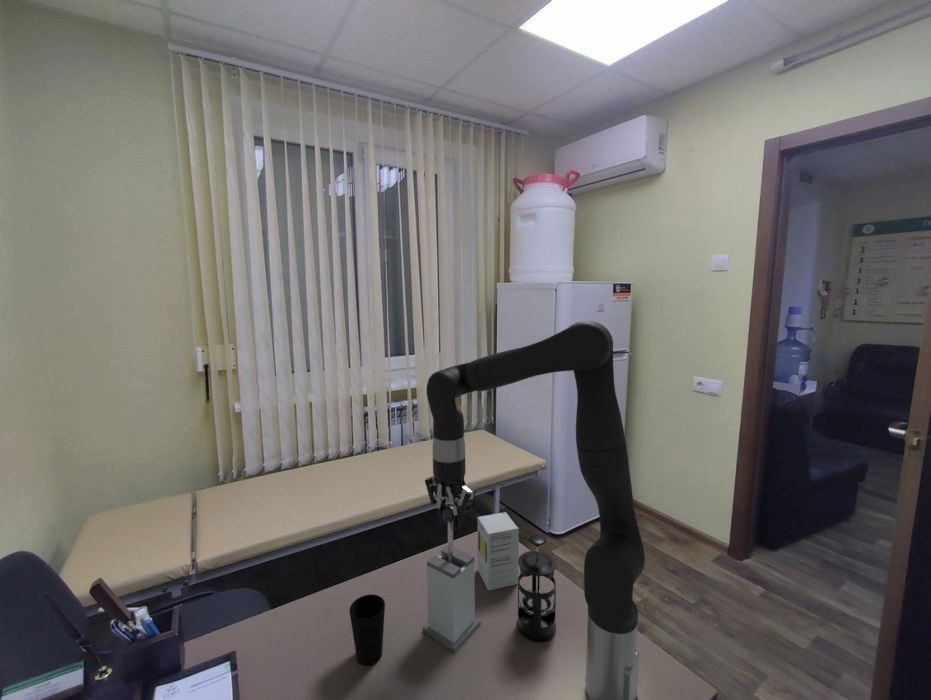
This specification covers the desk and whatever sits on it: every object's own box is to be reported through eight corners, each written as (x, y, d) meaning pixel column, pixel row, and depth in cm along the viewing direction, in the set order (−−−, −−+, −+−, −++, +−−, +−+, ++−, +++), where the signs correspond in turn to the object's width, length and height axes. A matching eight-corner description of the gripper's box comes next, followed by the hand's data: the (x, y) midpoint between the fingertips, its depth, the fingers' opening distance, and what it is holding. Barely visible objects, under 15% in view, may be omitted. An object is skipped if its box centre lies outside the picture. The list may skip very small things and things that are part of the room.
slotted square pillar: (480, 624, 100) (480, 556, 98) (455, 652, 93) (454, 579, 90) (449, 606, 106) (447, 541, 104) (422, 631, 99) (420, 561, 96)
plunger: (468, 570, 98) (467, 504, 96) (452, 584, 94) (451, 515, 92) (449, 561, 102) (448, 497, 100) (433, 574, 97) (432, 507, 95)
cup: (351, 674, 87) (349, 623, 86) (351, 645, 95) (349, 597, 93) (388, 665, 89) (386, 615, 88) (385, 637, 97) (383, 591, 95)
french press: (557, 646, 94) (559, 553, 91) (516, 642, 95) (517, 550, 92) (553, 608, 105) (555, 524, 102) (517, 605, 107) (517, 522, 104)
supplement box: (476, 569, 121) (476, 516, 119) (505, 563, 123) (505, 510, 121) (488, 591, 112) (488, 534, 109) (519, 584, 114) (519, 527, 112)
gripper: (483, 456, 93) (484, 527, 95) (436, 443, 101) (437, 509, 103) (463, 467, 87) (464, 543, 89) (415, 452, 95) (417, 522, 97)
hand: (450, 524), depth 96 cm, fingers closed on plunger, 3 cm apart
